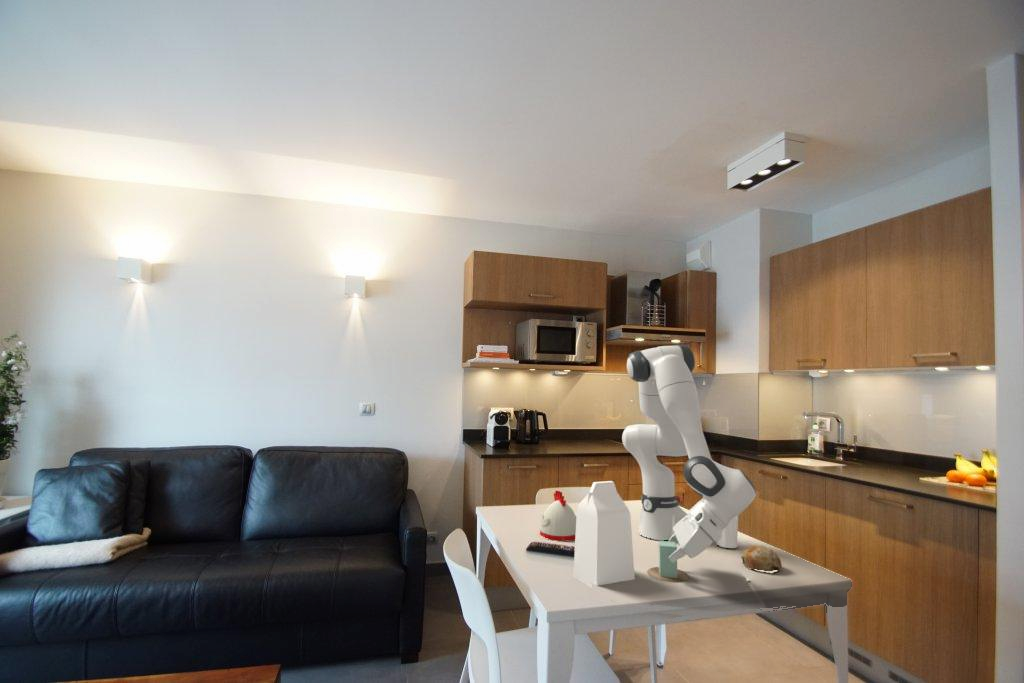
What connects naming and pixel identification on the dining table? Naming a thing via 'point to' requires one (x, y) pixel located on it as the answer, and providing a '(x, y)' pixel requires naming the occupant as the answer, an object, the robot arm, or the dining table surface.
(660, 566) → the mint rectangular pillar
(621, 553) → the milk
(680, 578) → the post stand
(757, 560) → the bread roll
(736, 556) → the dining table surface
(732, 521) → the cup
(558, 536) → the kitchen timer
